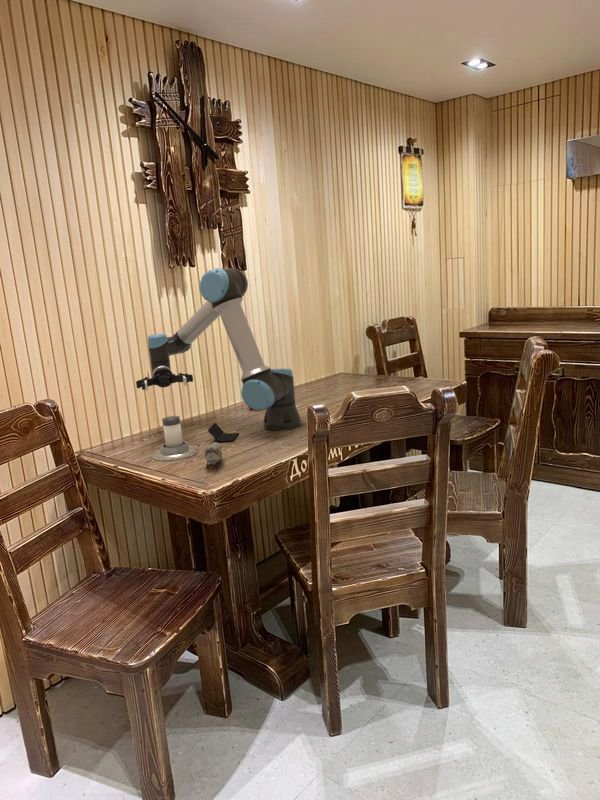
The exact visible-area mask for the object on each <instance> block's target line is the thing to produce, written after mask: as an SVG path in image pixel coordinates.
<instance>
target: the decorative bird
mask: <svg viewBox="0 0 600 800" xmlns="http://www.w3.org/2000/svg"><path fill="white" fill-rule="evenodd" d="M204 451H205V452H204V459H205V460H206V467H205V469H204V471H206V470H210V471H211V470H212V469H211V468H210V467H209V464H210V465H214V466H215V467H214V468H213V470H220V469H221V468H220V466H218V462H221V461H222V459H223V451H222V448H221V444H220V443H218V442H216V441H214V442H212V443H211V444H210V445H208V446H207V449H204Z"/></svg>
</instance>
